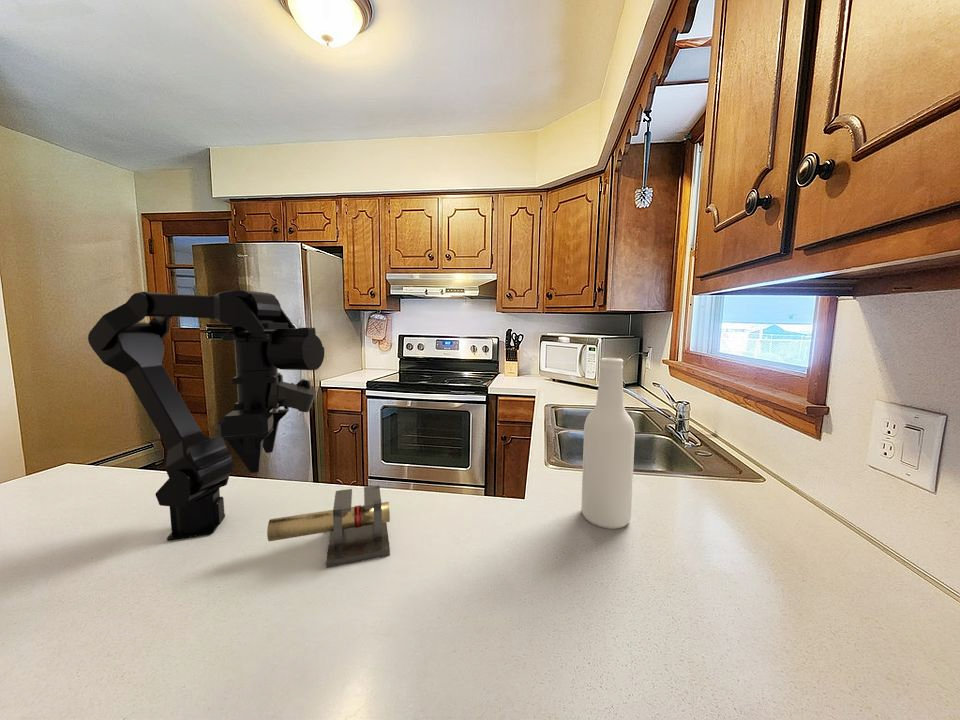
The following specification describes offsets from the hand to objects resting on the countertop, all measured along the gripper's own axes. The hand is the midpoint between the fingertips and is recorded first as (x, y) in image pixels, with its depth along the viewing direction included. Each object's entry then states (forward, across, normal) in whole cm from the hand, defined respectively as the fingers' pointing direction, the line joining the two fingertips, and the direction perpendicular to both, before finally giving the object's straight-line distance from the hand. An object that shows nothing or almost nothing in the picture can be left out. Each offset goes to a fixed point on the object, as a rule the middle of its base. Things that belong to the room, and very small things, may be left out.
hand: (262, 461), depth 60 cm
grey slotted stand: (+13, -6, -15) cm, 21 cm away
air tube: (+11, -6, -11) cm, 16 cm away
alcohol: (+13, -13, -59) cm, 62 cm away
